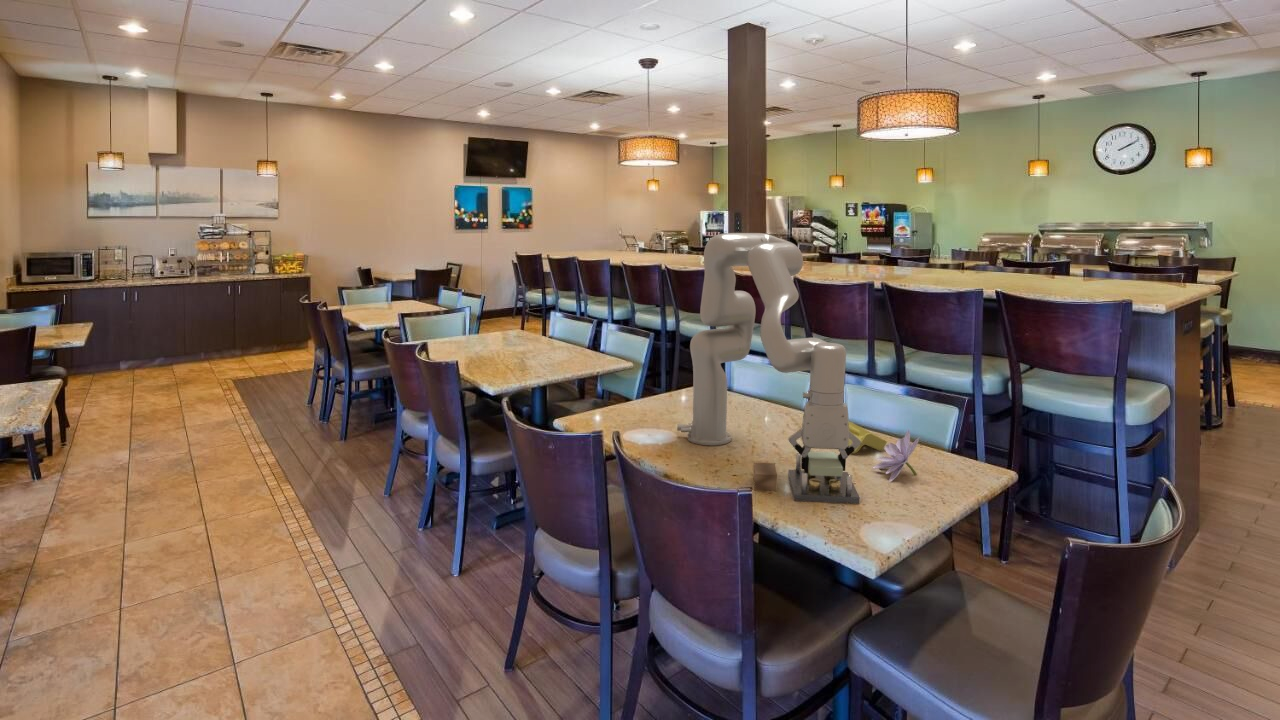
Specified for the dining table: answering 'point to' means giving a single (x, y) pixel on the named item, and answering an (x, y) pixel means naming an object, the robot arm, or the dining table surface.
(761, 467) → the block
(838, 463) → the board
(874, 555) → the dining table surface
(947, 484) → the dining table surface
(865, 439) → the plastic component
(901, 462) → the water lily
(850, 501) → the chassis
